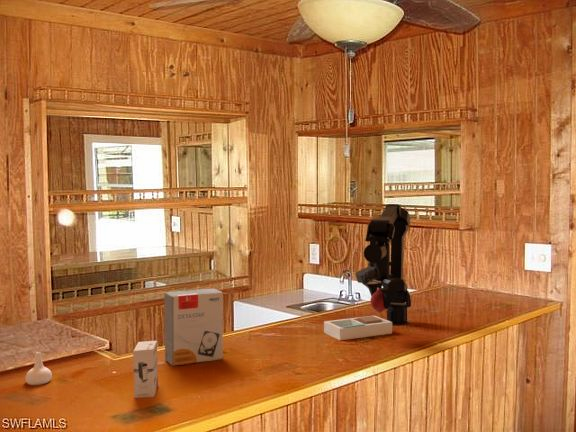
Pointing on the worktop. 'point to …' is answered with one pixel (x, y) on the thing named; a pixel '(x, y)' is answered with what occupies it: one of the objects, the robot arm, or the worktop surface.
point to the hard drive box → (193, 326)
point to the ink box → (145, 369)
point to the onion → (377, 301)
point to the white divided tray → (357, 327)
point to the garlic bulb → (38, 373)
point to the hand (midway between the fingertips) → (380, 307)
